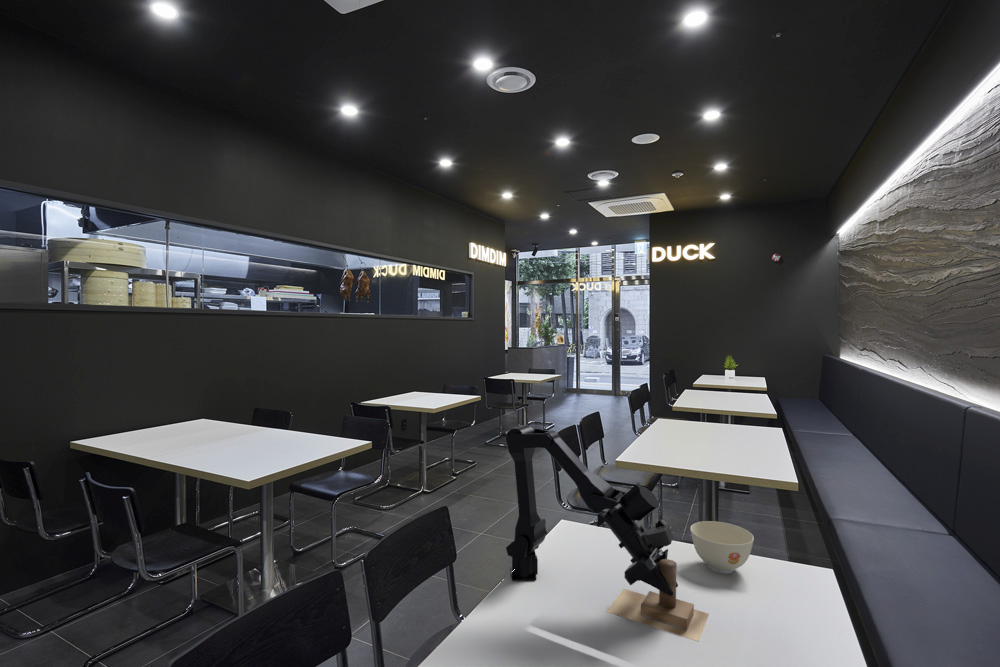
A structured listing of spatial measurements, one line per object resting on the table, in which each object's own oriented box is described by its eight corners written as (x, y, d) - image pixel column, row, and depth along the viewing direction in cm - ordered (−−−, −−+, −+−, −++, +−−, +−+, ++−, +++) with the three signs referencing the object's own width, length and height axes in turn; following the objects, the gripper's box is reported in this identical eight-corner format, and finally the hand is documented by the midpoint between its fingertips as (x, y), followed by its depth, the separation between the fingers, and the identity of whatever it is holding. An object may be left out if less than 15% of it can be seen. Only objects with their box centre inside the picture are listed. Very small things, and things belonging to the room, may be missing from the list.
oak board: (606, 615, 115) (606, 611, 115) (623, 592, 125) (623, 588, 125) (698, 646, 104) (698, 641, 104) (709, 618, 114) (709, 613, 114)
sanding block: (640, 615, 113) (641, 563, 113) (649, 601, 119) (650, 551, 119) (686, 630, 108) (687, 575, 107) (693, 615, 114) (694, 562, 113)
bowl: (748, 560, 143) (749, 525, 143) (757, 587, 128) (758, 548, 128) (689, 551, 148) (689, 518, 148) (691, 577, 133) (691, 539, 133)
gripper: (639, 525, 107) (692, 591, 101) (662, 500, 123) (709, 556, 117) (603, 552, 111) (653, 617, 106) (630, 525, 127) (674, 580, 121)
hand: (674, 591), depth 112 cm, fingers closed on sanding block, 4 cm apart
